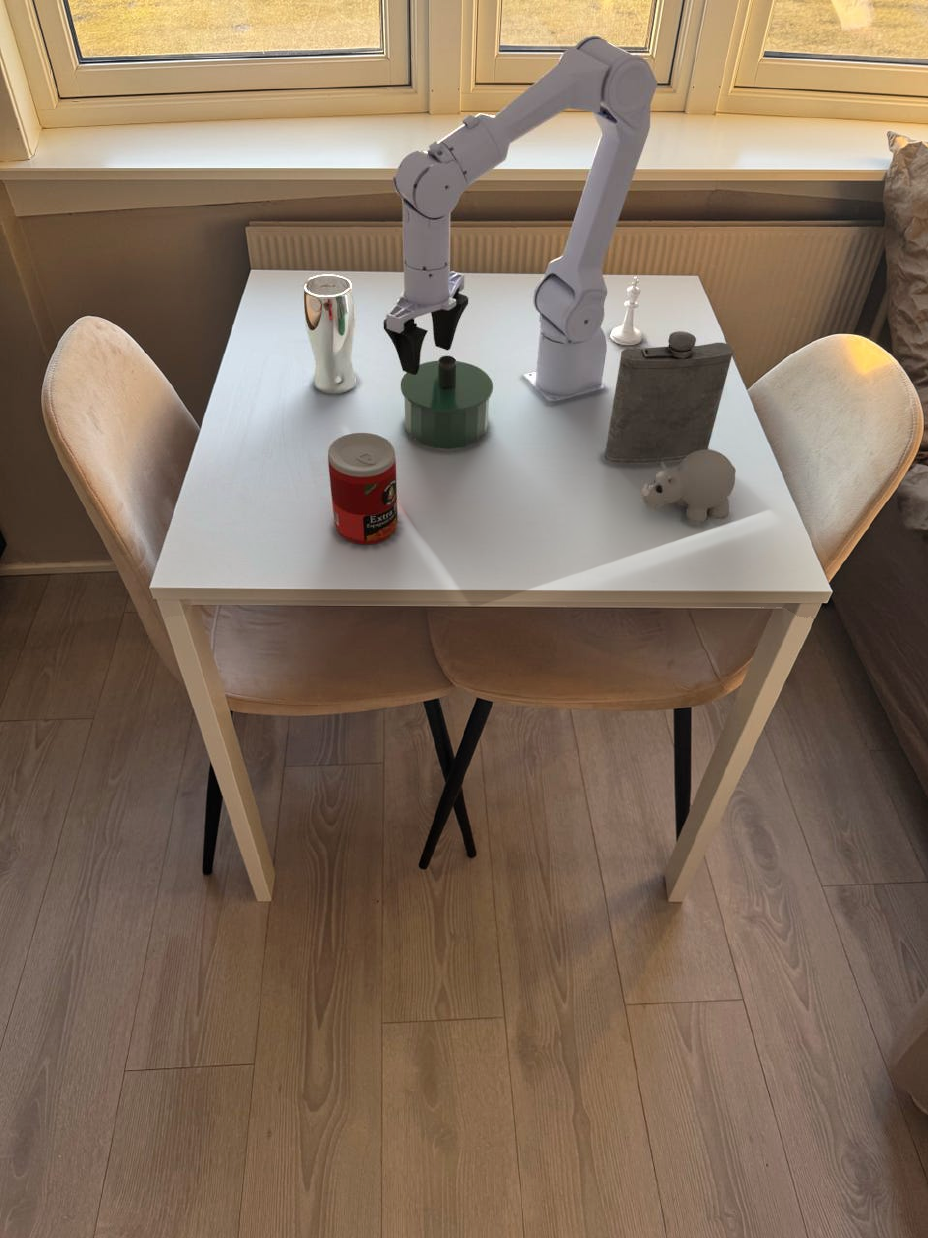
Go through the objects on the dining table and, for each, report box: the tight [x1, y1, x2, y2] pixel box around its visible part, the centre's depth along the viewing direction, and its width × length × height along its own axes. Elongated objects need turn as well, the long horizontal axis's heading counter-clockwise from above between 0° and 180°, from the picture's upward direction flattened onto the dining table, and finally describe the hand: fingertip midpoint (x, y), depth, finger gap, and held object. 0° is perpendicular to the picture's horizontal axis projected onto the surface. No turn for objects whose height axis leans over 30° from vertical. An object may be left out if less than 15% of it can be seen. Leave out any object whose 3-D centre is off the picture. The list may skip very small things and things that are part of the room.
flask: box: [604, 330, 734, 464], centre depth 119 cm, size 4×14×18 cm, turn 100°
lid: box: [400, 355, 494, 413], centre depth 123 cm, size 12×12×5 cm
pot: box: [403, 396, 490, 450], centre depth 127 cm, size 11×12×6 cm
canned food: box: [327, 432, 398, 545], centre depth 110 cm, size 8×8×11 cm
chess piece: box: [610, 276, 642, 346], centre depth 144 cm, size 5×5×10 cm
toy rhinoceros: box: [641, 448, 736, 524], centre depth 114 cm, size 7×12×8 cm, turn 105°
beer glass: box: [302, 274, 357, 395], centre depth 131 cm, size 7×7×15 cm
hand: (426, 359), depth 124 cm, fingers open, 7 cm apart
